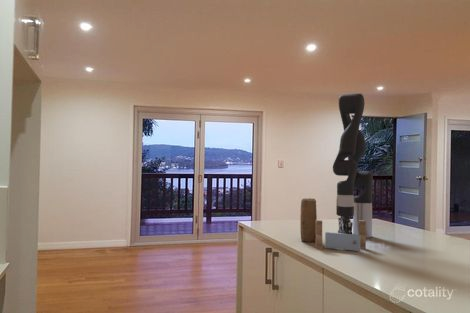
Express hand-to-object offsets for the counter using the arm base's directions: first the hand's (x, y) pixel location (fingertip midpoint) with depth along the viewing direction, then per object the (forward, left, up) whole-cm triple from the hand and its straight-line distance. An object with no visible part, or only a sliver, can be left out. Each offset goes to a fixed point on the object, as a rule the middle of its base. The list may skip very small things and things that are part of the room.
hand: (345, 243), depth 171 cm
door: (+6, -3, -1) cm, 7 cm away
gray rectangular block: (0, 0, -1) cm, 1 cm away
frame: (+2, -2, -2) cm, 4 cm away
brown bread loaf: (-15, -13, -2) cm, 20 cm away
